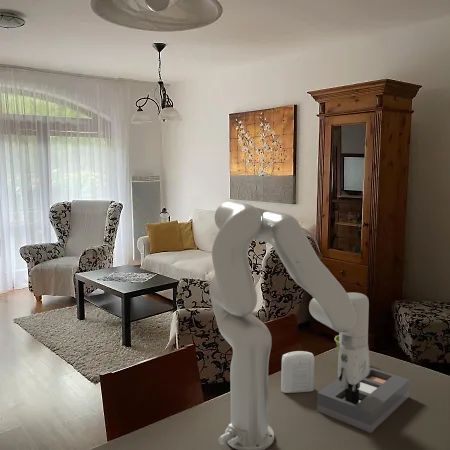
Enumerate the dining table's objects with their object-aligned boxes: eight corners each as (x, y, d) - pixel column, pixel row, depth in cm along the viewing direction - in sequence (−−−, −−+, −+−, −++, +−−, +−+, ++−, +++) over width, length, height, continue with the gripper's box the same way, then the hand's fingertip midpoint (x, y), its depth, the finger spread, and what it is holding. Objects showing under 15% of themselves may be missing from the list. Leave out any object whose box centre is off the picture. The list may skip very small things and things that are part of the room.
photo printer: (311, 385, 144) (312, 347, 143) (315, 392, 140) (316, 353, 139) (279, 388, 143) (279, 350, 141) (283, 394, 139) (283, 355, 137)
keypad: (370, 433, 119) (371, 413, 118) (317, 411, 129) (317, 392, 129) (408, 396, 137) (409, 379, 136) (358, 380, 148) (359, 363, 147)
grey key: (369, 400, 129) (369, 395, 129) (351, 393, 133) (351, 388, 132) (377, 392, 133) (378, 387, 133) (360, 386, 136) (360, 382, 136)
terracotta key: (381, 393, 135) (381, 388, 135) (363, 387, 138) (364, 382, 138) (389, 386, 139) (389, 381, 138) (372, 380, 142) (372, 376, 142)
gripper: (352, 350, 116) (351, 418, 119) (378, 334, 127) (376, 396, 130) (326, 343, 122) (325, 408, 124) (353, 328, 132) (352, 388, 135)
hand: (352, 402), depth 127 cm, fingers closed
